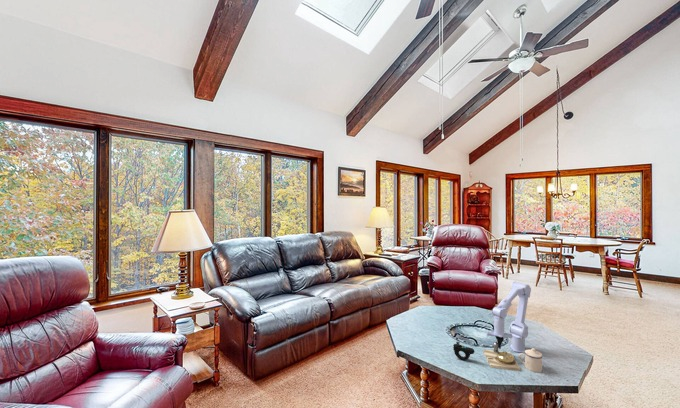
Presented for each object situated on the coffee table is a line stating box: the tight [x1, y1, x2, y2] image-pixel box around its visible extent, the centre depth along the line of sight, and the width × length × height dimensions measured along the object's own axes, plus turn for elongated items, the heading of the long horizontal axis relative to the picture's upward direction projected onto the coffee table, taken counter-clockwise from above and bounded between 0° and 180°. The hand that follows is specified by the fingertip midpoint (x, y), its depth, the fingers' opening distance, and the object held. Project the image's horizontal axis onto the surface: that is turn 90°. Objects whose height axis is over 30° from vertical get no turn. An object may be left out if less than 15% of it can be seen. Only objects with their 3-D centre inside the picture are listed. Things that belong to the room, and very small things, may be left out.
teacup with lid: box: [518, 347, 544, 373], centre depth 178 cm, size 12×9×12 cm
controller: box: [452, 341, 475, 361], centre depth 188 cm, size 4×12×10 cm, turn 56°
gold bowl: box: [493, 341, 515, 364], centre depth 185 cm, size 13×9×7 cm
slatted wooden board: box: [483, 349, 521, 372], centre depth 186 cm, size 19×16×2 cm
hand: (499, 347), depth 191 cm, fingers closed
